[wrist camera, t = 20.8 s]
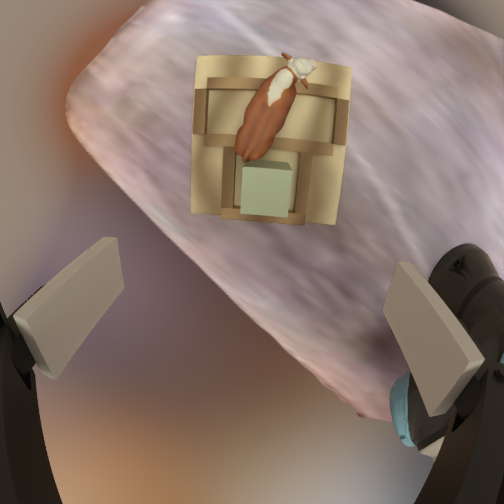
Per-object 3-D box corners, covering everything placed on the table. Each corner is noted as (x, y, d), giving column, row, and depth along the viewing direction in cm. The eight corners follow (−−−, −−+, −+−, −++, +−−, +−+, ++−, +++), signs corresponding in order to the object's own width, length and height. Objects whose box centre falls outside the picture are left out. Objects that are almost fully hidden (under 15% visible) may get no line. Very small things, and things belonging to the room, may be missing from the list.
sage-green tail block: (288, 162, 35) (292, 170, 27) (284, 199, 37) (287, 217, 29) (248, 159, 35) (242, 166, 27) (246, 196, 37) (240, 213, 30)
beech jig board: (349, 69, 29) (354, 65, 27) (333, 222, 38) (337, 228, 36) (198, 58, 30) (193, 53, 28) (192, 211, 39) (187, 216, 37)
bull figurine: (315, 76, 28) (328, 61, 21) (259, 163, 33) (255, 173, 26) (284, 58, 28) (288, 37, 20) (228, 146, 33) (215, 150, 25)
